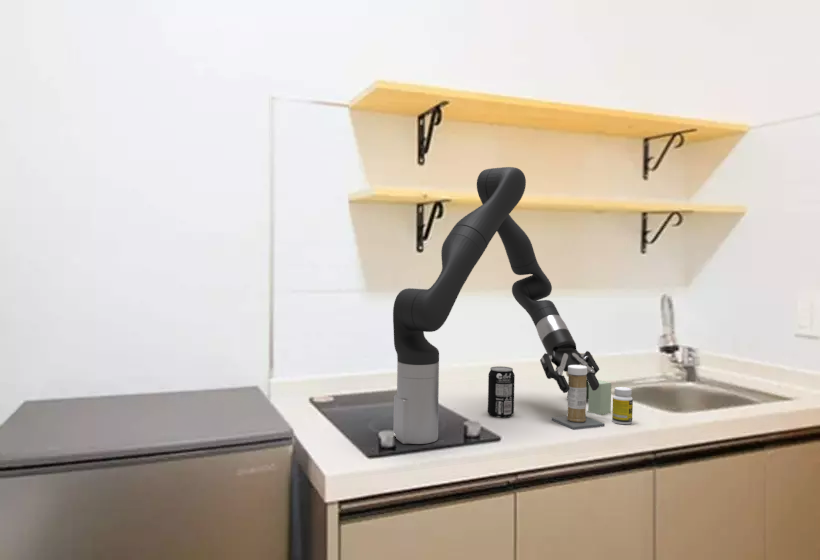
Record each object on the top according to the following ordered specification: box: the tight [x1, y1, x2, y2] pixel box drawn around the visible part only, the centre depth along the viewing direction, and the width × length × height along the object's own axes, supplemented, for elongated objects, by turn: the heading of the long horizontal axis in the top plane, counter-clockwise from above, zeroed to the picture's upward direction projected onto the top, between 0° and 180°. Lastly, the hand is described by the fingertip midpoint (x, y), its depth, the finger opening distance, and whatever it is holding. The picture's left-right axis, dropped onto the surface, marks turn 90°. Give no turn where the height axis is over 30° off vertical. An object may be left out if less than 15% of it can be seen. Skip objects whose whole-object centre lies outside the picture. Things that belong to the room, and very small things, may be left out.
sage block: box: [587, 379, 612, 416], centre depth 168 cm, size 4×4×8 cm
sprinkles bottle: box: [567, 365, 587, 422], centre depth 157 cm, size 5×5×14 cm
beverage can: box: [487, 365, 516, 419], centre depth 164 cm, size 7×7×12 cm
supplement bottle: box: [611, 386, 634, 425], centre depth 158 cm, size 5×5×8 cm
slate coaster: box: [550, 415, 606, 430], centre depth 157 cm, size 9×9×1 cm
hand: (581, 389), depth 155 cm, fingers open, 8 cm apart
